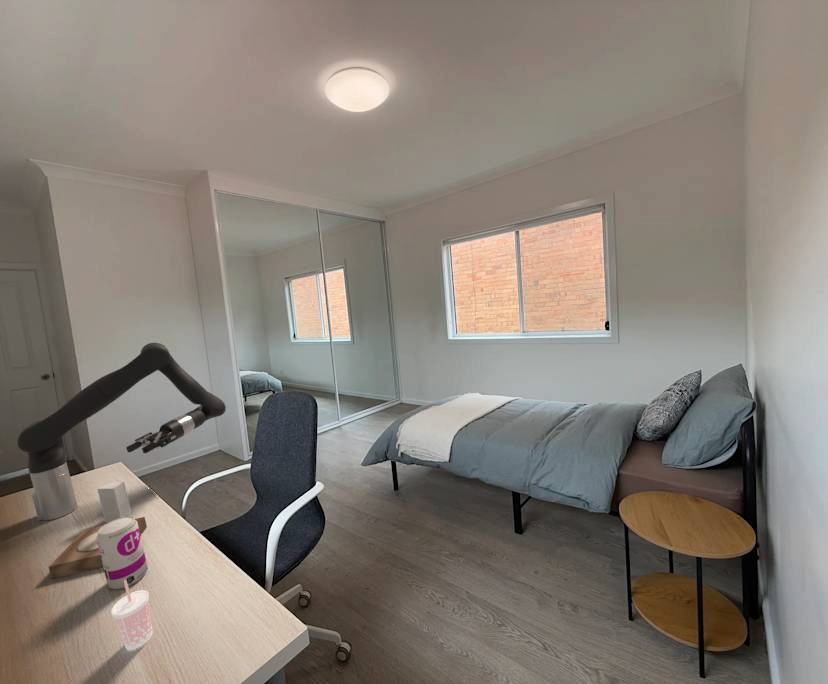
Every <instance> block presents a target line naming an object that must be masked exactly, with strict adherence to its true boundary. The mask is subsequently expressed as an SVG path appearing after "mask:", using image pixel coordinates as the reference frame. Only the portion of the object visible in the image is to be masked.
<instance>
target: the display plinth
mask: <svg viewBox="0 0 828 684" xmlns="http://www.w3.org/2000/svg"><path fill="white" fill-rule="evenodd" d="M134 519H135V520H136V521H137V523H138V527H139V532H140V536H141V537H142V535H143V533H144V532H145V531H146V529H148V526H147V521H146V517H145V516H141V517H138V518H134ZM102 526H103V525H101V526H96V527H92V528H87V529H84V530H83V531H81V533H80V534H79V535H78V536H77V537H76V538H75V539H74V540H73V541H72V542H71V543H70V544H69V545H68V546H67V547H66V548H65V549H64V550H63V552H61V554H59V556H57V557H56V558H55V559H54V560H53V562H51V564H50V565H49V566H48V570H49V574H50V578H51V580H53V579H57V578H63V577H67V576H70V575H74V574H78V573H82V572H86V571H91V570H96V569H99V568H102V567H103V564H102V560H101V556H100V552H99V548H98V544H97V535H98V531H99V529H100V528H101V527H102ZM141 534H142V535H141Z"/></svg>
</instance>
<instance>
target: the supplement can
mask: <svg viewBox="0 0 828 684" xmlns="http://www.w3.org/2000/svg"><path fill="white" fill-rule="evenodd" d="M135 519H136V518H134V517H132V515H130V516H126V517H121V518H118V519H115V520H113V521H111V522H106V523H105V524H104V525H101V526H102V527H101V528H100V529H99V531H98V535H97V544H98V548H99V552H100V556H101V560H102V564H103V571H104V575H105V579H106V583H107V587H108V588H109V589H114V590H121V589H125V585H124V580H125V579H126V580H127V584H128V587H130V586H132V585H134V584H136V583H137V582H138V581H140V580H141V579H142V578H143V577H144V576H145V574H147V572H148V569H149V567H148V563H147V562H148V561H147V558H146V554H145V550H144V546H143V540H142V535H141V536H140V532H139V527H138V523H137V521H136V520H135Z"/></svg>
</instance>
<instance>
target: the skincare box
mask: <svg viewBox="0 0 828 684" xmlns="http://www.w3.org/2000/svg"><path fill="white" fill-rule="evenodd" d="M97 494H98V496H99V501H100V504H101V509H102V512H103V516H104V517H103V518H104V520H105V523H109V522H111V521H113V520H115V519H118V518H121V517H126V516H132V515H133V514H132V509H131V504H130V499H129V496H128V491H127V489H126V485H125V481H117V482H116V481H115V482H113V481H112V482H107V483H106V484H104V485H102V486H100V487H99V488H97Z"/></svg>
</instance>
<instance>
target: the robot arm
mask: <svg viewBox="0 0 828 684" xmlns="http://www.w3.org/2000/svg"><path fill="white" fill-rule="evenodd" d="M157 371H159V372H160V373H161V374H163V375H164V376H165V377H166V378H167V379H168V380H169V381H170V382H171V383H172V384H173V386H174V387H175V388H176V389H177V390H178V391H179V392H180V393H181V394H182V395H183V396H184V397H185V398H187V400H188V401H189V402H191V404H193V405H198V406H197V407H196V408H194V409H193V410H190V411H188V412H186V413H184V414H182V415H180V416H177V417H176V418H173V419H171V420H169V421H167V422H165V423H163V424H162V425H161V426H160V427H159V431H155V432H152V431H151V432H149V433H145V434H144V435H142V436H140V437H138V438H136V439H134V441H135V442H133V443H131V444H129V445H128V446H126V451H127V453H131V452H134V451H135V450H137V449H139V448H141V451H142V453H143V454H147V453H149V452H151V451H153V450H154V449H159V448H164V447H166V446H168V445H169V444H171V443H174V442H175V441H177V440H179V439H180V438H183V437H184V436H186V435H187V434H189V433H191V432H192V431H194V430H195V429H196V428H197V429H198V427H199V428H200V426H202V425H203V424H204V423H205V422H207V421H208V420H210V419H213V418H217V417H221V416H223V415H224V414H225V413H226V410H227V409H226V408H227V407H226V404H225V402H224V401H223V400H222V399H221V398H219V397H218V396H216V395H215V394H213V393H212V392H209V391H207V390H206V389H205V387H203V385H201V384H200V383H199V382H198V381H197V380H196V379H195V378H194V377H192V376H191V374H189V373H188V372H187V371H185V369H184V368H182V366H181V365H180V364H178V362H177V361H176V360H175V359H174V357H173V356H172V355H171V353H170V351H169V349H168V348H167V346H165V345H164V344H162V343H159V342H149V343H147V344H145V345H144V346H143V347H142V348H141V350H140V354H138V355H137V356H136V357H135V358H134V359H132V360H131V361H130V362H128V363H127V364H125V365H124V366H122V367H121V368H118V369H117V370H115V371H112V372H110V373H108V374H104V376H102V377H100V378H98V379H96V380H95V381H93V382H92V383H91V384H88V386H86V387H84V388H83V389H82V390H80V391H79V392H78V393H77V394H75V395H74V396H73V397H71V398H70V399H69V400H68V401H66V403H65V404H64V405H62V407H60V408H59V409H58V410H57V411H55V412H54V413H52V414H51V415H49V416H47V417H45V418H44V419H42V420H38V421H34V422H32V423H31V424H29V425H28V426H27V427H25V428H24V429H23V430H22V431H21V432H20V433H19V436H18V437H17V447H18V448H19V449H20V450H21V452H22V451H23V452H24V453H27V454H28V462H27V463H28V464H27V469H28V472H29V476H30V480H31V484H32V487H33V490H34V491H33V492H34V493H32V495H31V498H32V502H33V504H34V508H35V511H36V515H37V519H38V521H51V520H56V519H58V518H62V517H65V516H66V515H69V514H70V513H73V512H74V511H75V510H76V509H77V508H78V503H77V502H78V501H77V499H76V494H75V489H74V486H73V481H72V478H71V475H70V471H69V467H68V463H67V460H66V459H67V458H66V447H65V443H64V440H63V439H64V438H63V436H64V435H65V434H67V433H68V432H69V431H70V430H72V429H73V428H75V427H76V426H77V425H79V424H81V423H83V422H84V421H86V420H87V419H89V418H91V417H92V416H94V415H96V414H97V413H98V412H100V411H102V410H103V409H105V408H106V407H108V406H109V405H110V404H112V403H113V402H115V401H116V400H118V399H119V398H121V396H123V395H124V394H126V393H127V392H128V391H129V390H130V389H131V388H133V387H134V386H136V384H138V383H139V382H140V381H142V380H144V379H145V378H146V377H148V376H150V375H151V374H153V373H155V372H157ZM73 510H74V511H73Z"/></svg>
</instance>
